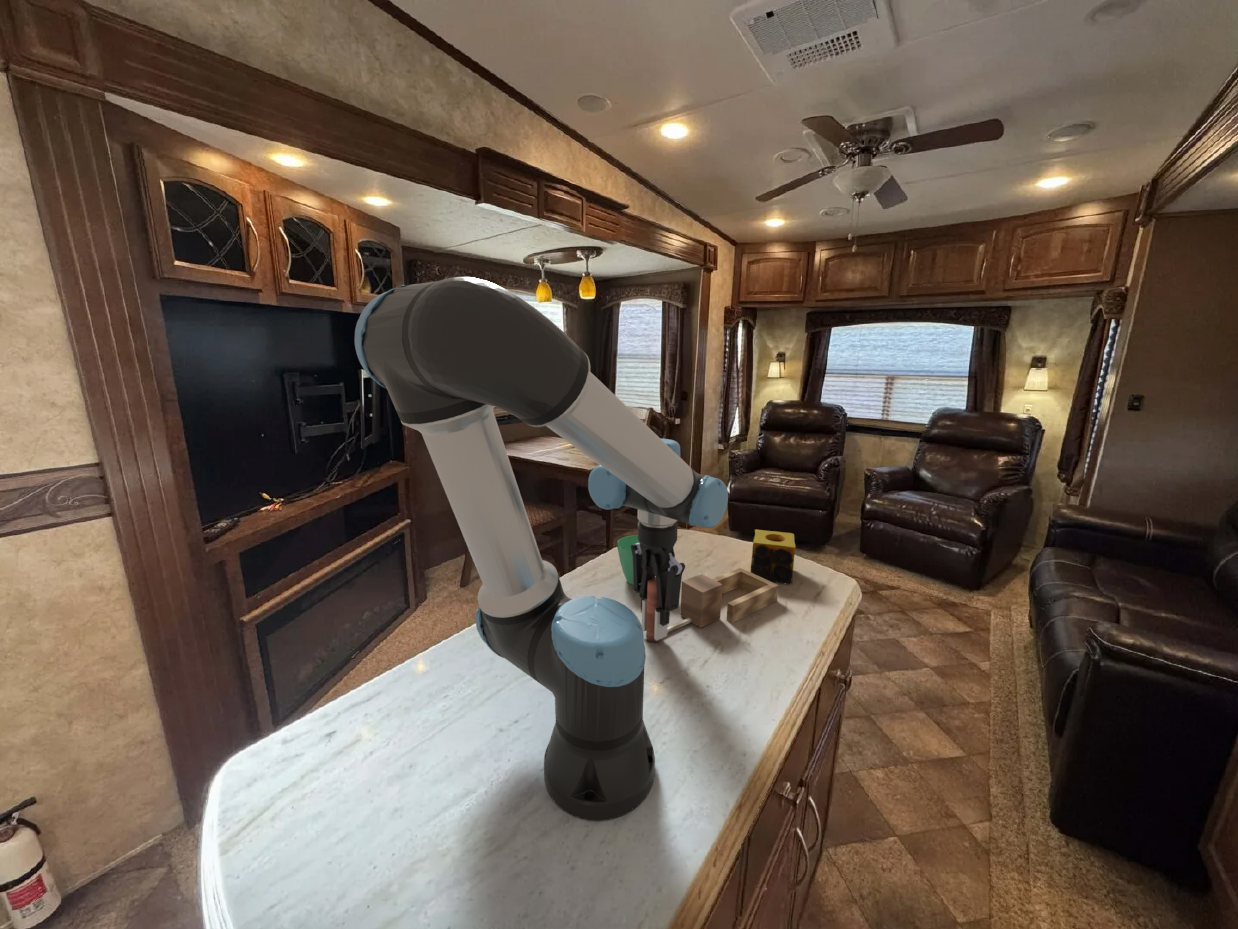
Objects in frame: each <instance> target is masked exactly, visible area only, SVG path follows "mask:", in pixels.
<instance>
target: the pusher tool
mask: <svg viewBox="0 0 1238 929" xmlns="http://www.w3.org/2000/svg"><path fill="white" fill-rule="evenodd" d="M722 597H723V594H722V584H721V583H719V582H717V581H715V580H713V578H710V577H709V576H707V575H704V574H703V573H700V574H697V575H695V576H693V577H690V578H688V579H684V580H681V588H680V613H679V614H680V616H681V617H682V618H684V619H683V620H681V621H678V622H676V623H674V624H671V625H670V626H667V634H668V633H670V632H673V631H675V630H677V629H680V628H681V627H683V626H686V625H687V624H690V623H692V624H693V625H695V626H697V627H698V628H703V627H705V626H708V625H710V624H712V623H715V622H717V621H718V620H721V612H722V610H721V609H722V599H723V598H722ZM655 608H658V598H657V585H656V578H653V579H649V580H648V587H647V624H646V631H645V632H646V633H645V638H646V640H647V641H649V642H650V643H651V642H652V643H659V642H661V641H662V640H663V638H662V639H659V640H657V641H656V640H655V639H654V628H655Z"/></svg>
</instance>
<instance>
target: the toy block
mask: <svg viewBox="0 0 1238 929" xmlns="http://www.w3.org/2000/svg"><path fill="white" fill-rule="evenodd" d="M754 533H755V534H754V537H753V541H752V550H751V551H752V553H751V561H750V562H751V564H750V572H751V573H753V574H755V575H757V576H760V577H762V578H764V579H766V580H768V581H771V582H773V583H775V584H778V583H779V584H784V583H786V585H792V584H793V577H794V576H793V575H794V564H795V552H796V543H795V542H796V541H795V534H794V533H792V532H782V531H775V530H773V531H771V530H766V529H765V530H763V529H754Z"/></svg>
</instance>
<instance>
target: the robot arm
mask: <svg viewBox="0 0 1238 929" xmlns="http://www.w3.org/2000/svg"><path fill="white" fill-rule="evenodd" d="M355 325H356V326H355V330H354V347H355V352H356V355H357V358H358V361H359V363H360V365H361V367H362V368H363V370H364V372H366V374H367V375H368V376H369V377H370V378H371V379H372V380H373V381H374V382H375V383H376V384H377V385H379V386H381V387H382V388H384V389H386V390H387V391H388V395H389V397H390V399H391V402H392V404H393V406H394V408H395V411H396V413H397V415H398V418H399V420H400V422H401V424H402V425H403V426H405V427H407V428H411V429H413V430H416V431H418V432H419V433H420V434H421V436H422V439H423V441H424V443H425V445H426V448H427V450H428V453H429V455H430V458H431V461H432V463H433V465H434V468H435V470H436V472H437V476H438V478H439V479H440V480H439V481H440V483H441V485H442V488H443V490H444V492H445V495H446V497H447V500H448V502H449V504H450V508H451V510H452V513H453V514H454V517H455V519H456V522H457V525H458V527H459V528H460V529H459V530H460V531H461V534H462V536H463V539H464V542H465V543H466V546H467V549H468V552H469V554H470V557H471V558H472V561H473V563H474V566H475V568H476V571H477V573H478V576H479V578H480V580H481V583H482V584H481V586H480V588H479V589H478V592H477V603H478V608H477V609H476V610H475V617H474V618H475V625H476V630H477V632H478V635H479V637H480V638H481V640H482V641H483V643H485V645H486V646H487V647H488V649H490V650H491V651H492V653H494V654H495V655H497V656H499V657H500V658H502V659H505V660H506V661H508V662H509V663H511V664H512V665H513V666H515V667H516V668H518V670H520V671H522V672H523V673H525V674H526V675H528V676H529V677H530V678H532V679H533V680H534V681H536V682H537V683H538V684H540V685H542V686H543V687H544V688H546V689H547V690H548V691H550V692H551V693H552V694H553V697H554V711H555V712H554V713H555V724H554V725H553V730H552V731H551V732H552V733H551V736H550V738H549V741H548V744H547V746H546V749H545V752H544V757H543V758H544V759H543V778H544V785H545V788H546V791H547V793H548V795H549V796H550V798H551V800H552V801H553V802H554V803H555V804H556V805H557V806H558V807H559V808H560V809H561V810H563V811H564V812H566V813H568V814H569V815H571V816H573V817H577V818H580V819H584V820H589V821H605V820H611V819H616V818H619V817H622V816H624V815H626V814H628V813H629V812H632V811H634V810H635V809H636V808H637V807H638V806H640V805H641V803H642V802H643V801H644V800H645V799H646V798H647V796H648V795H649V793H651V792H650V791H651V789H652V787H653V785H654V784H653V783H654V780H655V774H656V773H655V769H656V764H655V763H656V756H655V751H654V747H653V744H652V741H651V739H650V736H649V733H648V730H647V728H646V724H645V722H644V715H643V714H644V691H645V690H644V687H645V665H646V657H647V654H646V647H645V638H644V635H645V634H644V632H646V624H647V587H648V580H649V579H653V578H655V577H656V585H657V598H658V608H655V628H654V639H655V640H656V641H657V640H659V639H662V640H663V638H666V637H668V633H667V627H668V625H669V624H670V617H671V616H670V613H671V612H672V611H675V610H677V609H679V606H680V599H681V588H682V580H683V579H682V578H683V574H684V571H685V569H686V565H685V563H684V562H680V563H679V562H678V560H677V559H676V558H675V557H676V554H675V551H674V547H675V545H676V543H677V541H678V528H679V527H678V526H679V525H678V523H677V522H682V523H686V524H688V525H689V526H696V527H700V528H705V529H710V528H713V527H716V526H717V525H718V524H719V523H720V522H721V521H722V519H723V517H724V516H725V512H726V510H727V507H728V503H729V502H728V499H729V494H728V493H729V492H728V488H727V485H726V484H725V482H724V481H723V480H721V479H720V478H716V477H713V476H710V475H709V474H708V475H707V474H700V473H699V472H696V471H695V470H694V469H693V468H692V467H691V466H689V464H688V463H686V461H684V459H683V458H682V457H681V445H680V444H679V442H678V441H676V440H673V439H668V438H660V437H659V435H657V433H655V432H654V431H653V430H652V429H651V428H650V427H649V426H648V425H647V424H646V423H645V422H644V421H643V420H641V418H640V417H638V415H636V413H635V412H633V411H632V410H631V409H630V408H629V407H628V406H627V405H626V404H625V403H624V402H622V400H620V398H619V397H617V396H616V394H614V393H613V392H612V391H611V390H610V389H609V388H608V387H607V386H606V385H605V384H604V383H603V382H602V381H601V380H600V379H598V378H597V376H595V375H594V374H593V373H592V372H591V362H590V361H591V360H590V359H589V356H588V355H587V353H586V352H585V351H584V350H583V349H582V348H581V347H580V346H579V345H578V344H577V343H576V342H575V341H574V340H573V339H572V338H571V337H570V336H569V335H567V334H566V332H564V331H563V330H562V329H561V328H559V326H557V324H555V323H554V322H553V321H552V320H550V318H548V317H547V316H546V315H544V314H543V312H541V311H539V310H538V309H537V308H535V307H534V306H533V305H531V304H530V303H528V301H525V300H524V299H523V298H521V297H520V296H518V295H516V294H515V293H513V292H512V291H510V290H508V289H506V288H504V287H502V286H500V285H498V284H496V283H493V282H490V281H488V280H485V279H480V278H476V277H471V276H456V277H455V276H454V277H449V278H445V279H441V280H437V281H429V282H422V283H414V284H406V285H405V284H402V285H399V286H397V287H394V288H391V289H389V290H388V291H385V292H382V293H381V294H379V295H377V296H375V297H374V298H372V299H371V300H370V301H369V302H368V303H367V304H366V306H365V307H364V308H363V310H362V312H361V313H360V316H359V318H358V320H357V322H356V324H355ZM495 408H498V409H500V410H503V411H504V412H507V413H509V414H511V415H513V416H514V417H515V418H518V419H519V420H520V421H522V422H523V423H525V424H526V425H527V426H530V427H535V428H540V427H541V428H542V427H546V428H548V429H550V430H551V431H552V432H553V433H555V434H556V435H558V436H559V437H561V438H562V439H564V440H565V441H566V442H568V443H569V444H570V445H572V446H573V447H574V448H576V449H577V450H578V451H580V452H581V453H582V454H584V455H586V456H587V457H588V458H590V459H591V460H593V461H594V462H595V463H597V464H598V465H597V466H595V467H594V468H592V470H591V472H590V473H589V475H588V476H589V477H588V484H587V485H588V487H587V488H588V492H589V496H590V498H591V499H592V501H593V503H594V504H595V505H596V506H597V507H599V508H601V509H603V510H608V511H609V510H614V509H620V508H622V507H630V508H633V509H636V510H637V520H638V522H637V535H636V536H637V538H638V541H639V542H640V543H636V544H632V545H631V551H632V555H633V580H634V585H633V591H634V592H635V593H638V594H639V598H640V610H641V611H640V612H641V621H640V619H639V618H638V616H637V615H636V614H635V613H634V612H633V610H632V609H630V608H629V607H628V606H626V605H625V604H623V603H621V602H619V601H617V600H616V599H612V598H609V597H605V596H604V597H603V596H602V597H601V598H598V597H596V596H595V595H588V596H587V595H585V596H580V597H579V596H578V597H575V598H573V599H572V598H570V597H568V596H567V594H566V593H565V591H564V588H563V586H562V583H561V579H560V577H559V573H558V571H557V568H556V567H555V566H554V564H552V563H551V562H549V561H547V560H543V558H542V556H541V553H540V549H539V547H538V543H537V540H536V537H535V535H534V532H533V528H532V525H531V522H530V520H529V516H528V513H527V510H526V507H525V505H524V501H523V498H522V495H521V492H520V489H519V485H518V483H517V480H516V476H515V474H514V471H513V467H512V465H511V461H510V458H509V455H508V452H507V450H506V447H505V443H504V440H503V437H502V434H501V431H500V428H499V425H498V422H497V418H496V416H495V413H494V409H495ZM639 583H641V584H640V585H639Z"/></svg>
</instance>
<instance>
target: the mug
mask: <svg viewBox="0 0 1238 929" xmlns="http://www.w3.org/2000/svg"><path fill="white" fill-rule="evenodd" d="M636 543H640V542H639V541H638V538H637V535H636V534H635V535H627V536H624V537H621V538H619V539H618V540H617V542H616V547H617V553H618V557H619V562H620V563H619V564H620V566H621V568H622V569H621V570H622V572H623V575H624V577H625V580H626V582H627V583H628V584H630V585H633V586H634V580H633V555H632V551H631V545H632V544H636ZM655 578H656V576H655ZM640 584H641V583H639V585H640Z"/></svg>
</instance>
